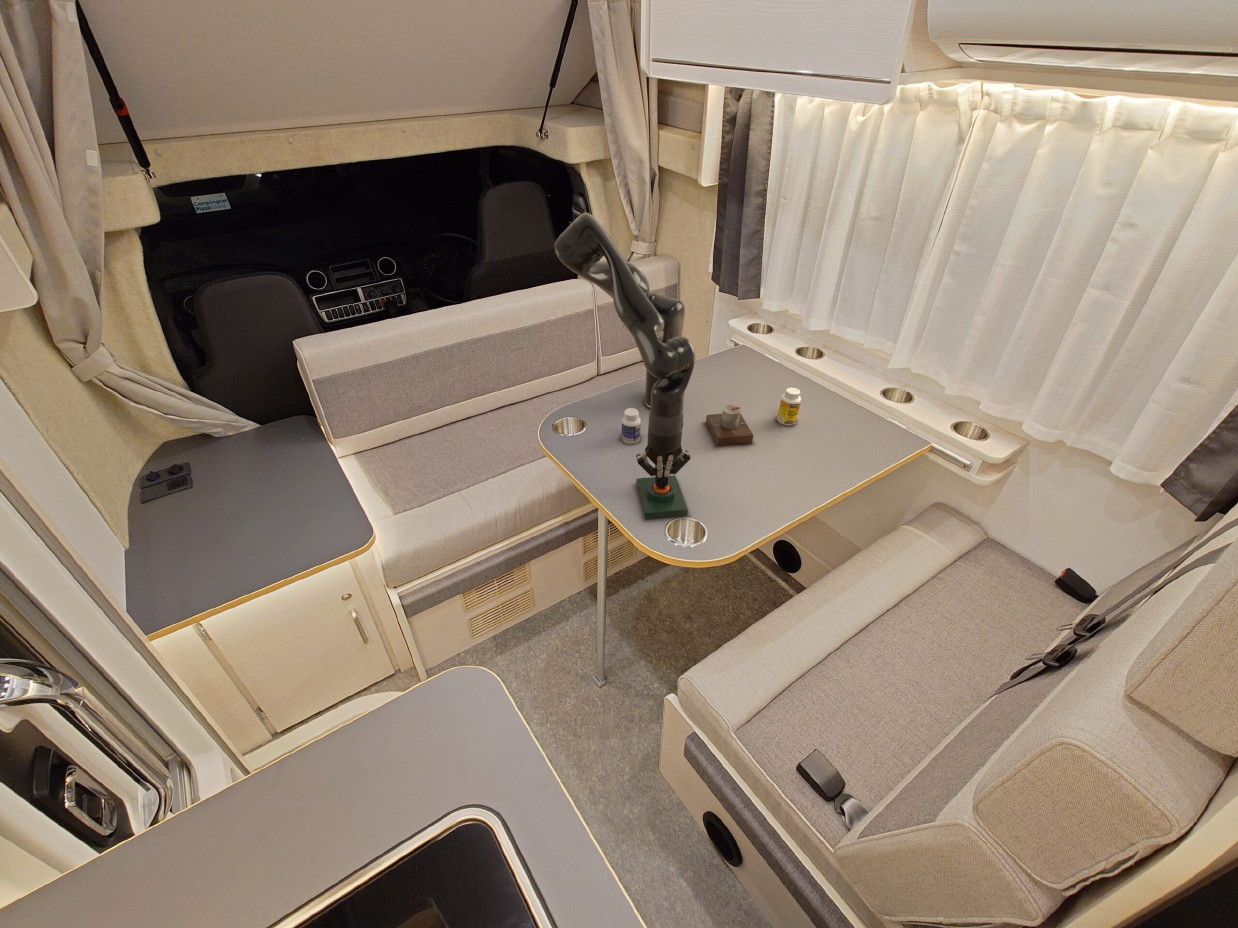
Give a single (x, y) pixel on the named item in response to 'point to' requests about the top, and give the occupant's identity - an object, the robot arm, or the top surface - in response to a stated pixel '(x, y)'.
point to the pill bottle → (631, 426)
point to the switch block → (661, 499)
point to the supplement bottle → (789, 407)
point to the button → (661, 491)
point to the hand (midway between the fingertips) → (661, 486)
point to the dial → (730, 416)
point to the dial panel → (728, 432)
